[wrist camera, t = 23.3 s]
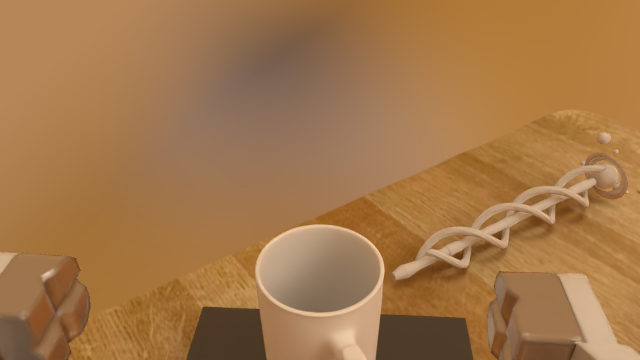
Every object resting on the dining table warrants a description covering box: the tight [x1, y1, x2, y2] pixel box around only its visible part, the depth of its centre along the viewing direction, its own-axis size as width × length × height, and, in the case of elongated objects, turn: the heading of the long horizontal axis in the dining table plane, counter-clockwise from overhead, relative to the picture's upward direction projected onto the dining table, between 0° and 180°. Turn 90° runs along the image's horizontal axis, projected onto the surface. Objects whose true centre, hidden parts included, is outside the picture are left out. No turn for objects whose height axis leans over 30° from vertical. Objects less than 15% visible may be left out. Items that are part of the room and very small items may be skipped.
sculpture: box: [391, 132, 628, 280], centre depth 50 cm, size 7×5×30 cm
